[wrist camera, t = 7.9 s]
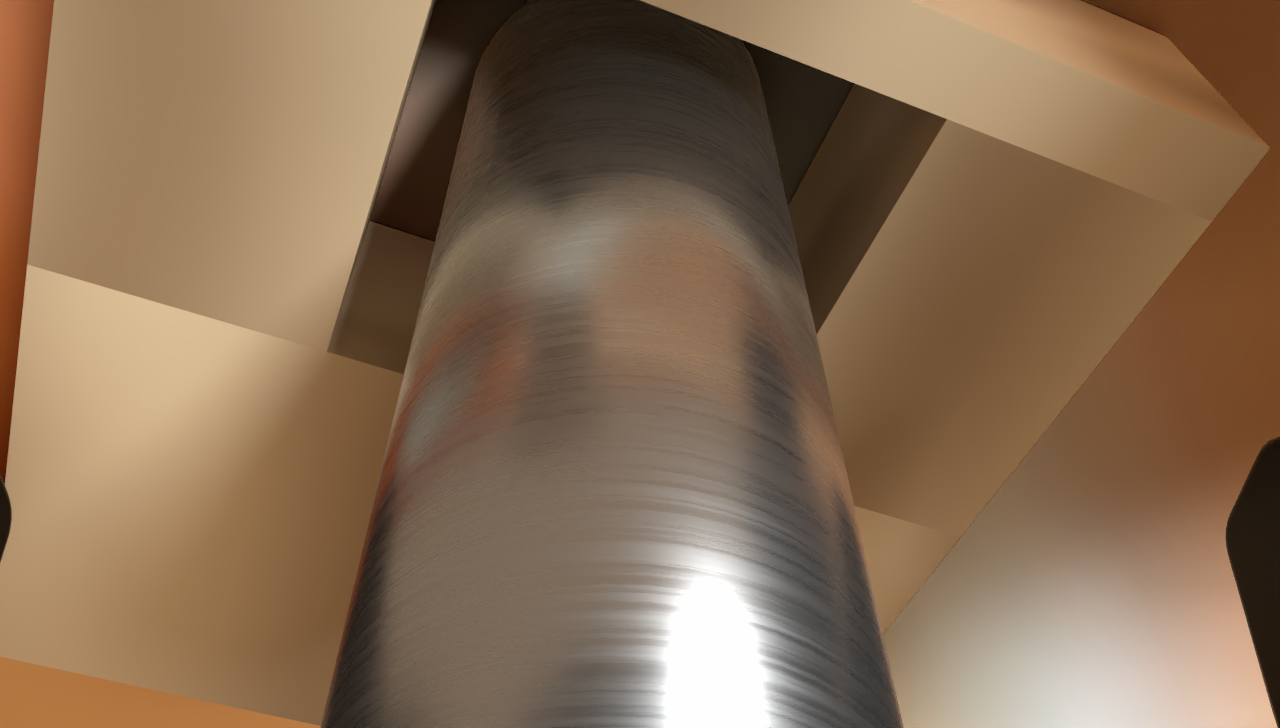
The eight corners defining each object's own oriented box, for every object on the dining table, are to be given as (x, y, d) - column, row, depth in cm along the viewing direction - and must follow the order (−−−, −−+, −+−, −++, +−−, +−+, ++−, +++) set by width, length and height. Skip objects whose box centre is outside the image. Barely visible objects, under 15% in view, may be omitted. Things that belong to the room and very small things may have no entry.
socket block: (1166, 35, 12) (1270, 147, 10) (636, 799, 21) (638, 941, 19) (194, -379, 10) (89, -339, 8) (40, 671, 18) (-29, 818, 16)
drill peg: (815, 41, 12) (1077, 839, 5) (693, 280, 14) (765, 1116, 7) (523, -73, 12) (368, 679, 4) (434, 193, 13) (222, 1033, 6)
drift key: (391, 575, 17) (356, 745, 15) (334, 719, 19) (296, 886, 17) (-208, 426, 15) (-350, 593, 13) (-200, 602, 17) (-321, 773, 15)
